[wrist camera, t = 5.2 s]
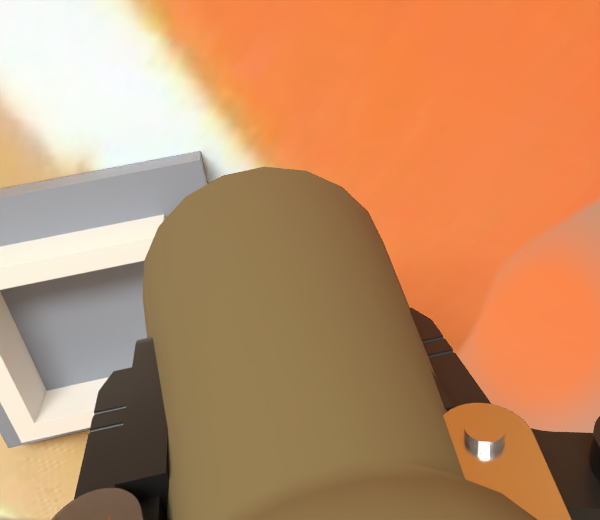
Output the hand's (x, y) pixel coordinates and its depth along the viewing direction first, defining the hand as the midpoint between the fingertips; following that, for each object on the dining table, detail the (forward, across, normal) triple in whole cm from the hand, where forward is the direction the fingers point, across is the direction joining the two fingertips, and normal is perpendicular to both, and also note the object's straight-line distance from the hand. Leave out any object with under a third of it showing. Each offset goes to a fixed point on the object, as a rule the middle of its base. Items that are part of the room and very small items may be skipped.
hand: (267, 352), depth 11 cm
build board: (+18, +8, +8) cm, 21 cm away
